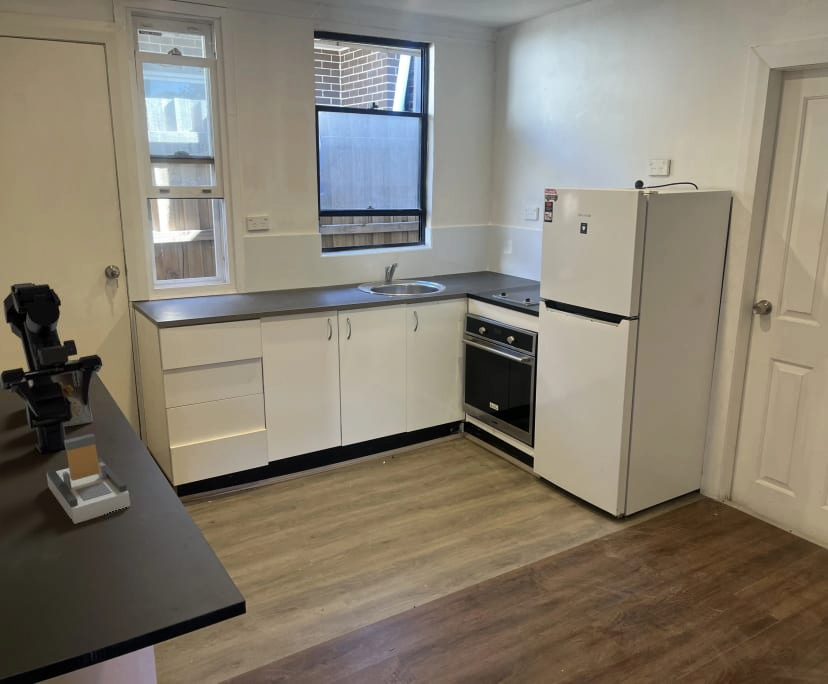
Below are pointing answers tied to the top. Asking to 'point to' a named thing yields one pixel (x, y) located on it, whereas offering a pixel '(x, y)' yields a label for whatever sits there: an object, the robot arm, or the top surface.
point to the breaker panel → (89, 492)
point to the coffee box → (74, 397)
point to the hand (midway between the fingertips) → (62, 410)
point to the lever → (82, 456)
